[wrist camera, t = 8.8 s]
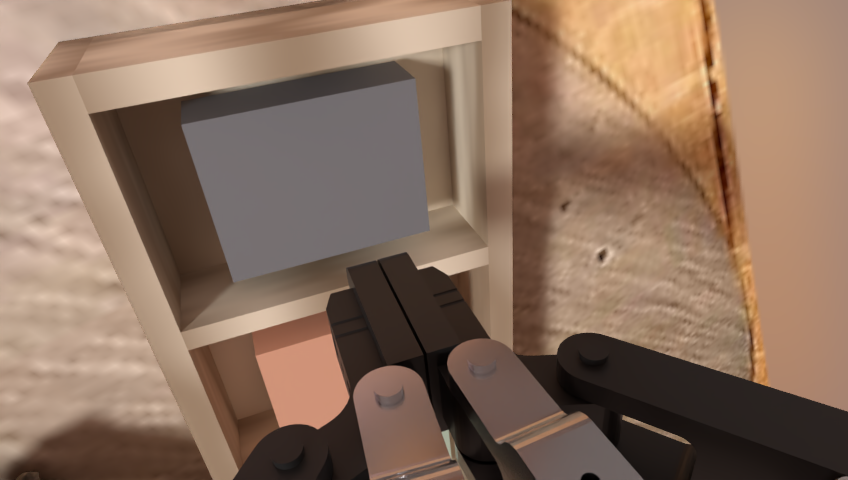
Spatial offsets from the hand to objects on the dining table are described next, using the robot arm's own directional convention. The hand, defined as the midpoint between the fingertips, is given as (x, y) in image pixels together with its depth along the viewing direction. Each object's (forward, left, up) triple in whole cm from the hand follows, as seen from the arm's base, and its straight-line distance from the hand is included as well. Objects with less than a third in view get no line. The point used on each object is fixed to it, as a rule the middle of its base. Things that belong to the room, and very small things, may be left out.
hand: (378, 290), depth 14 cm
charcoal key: (0, 0, -8) cm, 8 cm away
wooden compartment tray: (0, +8, -10) cm, 13 cm away
